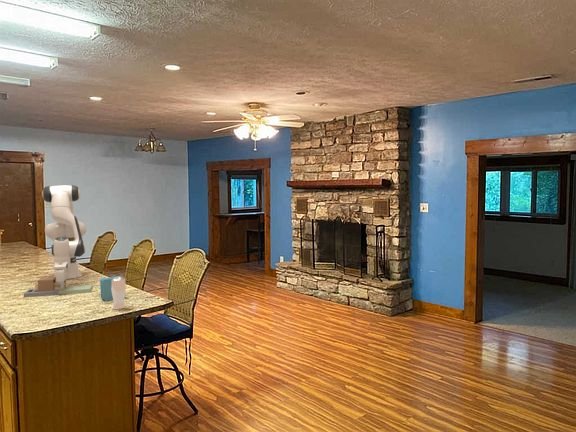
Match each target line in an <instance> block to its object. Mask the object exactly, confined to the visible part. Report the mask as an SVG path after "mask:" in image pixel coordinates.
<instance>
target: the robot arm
mask: <svg viewBox="0 0 576 432" xmlns="http://www.w3.org/2000/svg"><path fill="white" fill-rule="evenodd" d="M41 196H42V199H43V201H45V202H47V203H50V213H51V217H52V219H53V220H54V221H55V222H51V223H48V224H46V225H45V227H44V234H45V236H47V238H49V239H51V240H52V241H53V244H52V245H51V255H52V256H53V270H54V275H53V276H52V277H56V282H57V283H60V287H61V288H64V281H66V282H67V280H71V279H77V278H82V277H83V274H82V273H81V271H80V269H79V264H78V263H77V258H80V257H82V256H84V254H85V253H86V245H85V243H84V240H83V236H84V235H85V234H86V232H87V227H86V225H85V223H84V222H82V221H80V220H79V219H78V217H77V216H76V215H75V214H74V206H73V202H76V201H78V200H79V199H80V197H81V191H80V189H79V187H78V185H73V184H72V185H68V184H67V185H65V184H64V185H63V184H62V185H52V186H51V185H48V186H47V185H46V186H45V187H43V189H42V192H41ZM69 238H70V239H71V238H74V240H69Z"/></svg>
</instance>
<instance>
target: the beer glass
mask: <svg viewBox="0 0 576 432" xmlns="http://www.w3.org/2000/svg"><path fill="white" fill-rule="evenodd" d="M126 287H127V286H126V279H125V277H123V278H115V279H112V280H111V292H112V296H113V300H112V301H113V305H112V310H123V309H125V308H126V304H125V297H126V290H127V289H126Z"/></svg>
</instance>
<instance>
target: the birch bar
mask: <svg viewBox="0 0 576 432" xmlns="http://www.w3.org/2000/svg"><path fill="white" fill-rule="evenodd" d="M66 286H67V280H66V281H64V288H61V287H60V283H57V281H56V282H54V290H61V289H66ZM34 289H35V291H38V282H36V283H35V284H34Z"/></svg>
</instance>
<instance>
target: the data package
mask: <svg viewBox="0 0 576 432" xmlns="http://www.w3.org/2000/svg"><path fill="white" fill-rule="evenodd" d="M115 278H124V277H123V276H121V275H120V276H112V277H111V276H110V277H103V278H101V279H100V282H99V283H100V285H99V286H100V287H99V288H100V299H101V300H102V301H104V302H107V301H113V296H112V292H111V280H112V279H115Z"/></svg>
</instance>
